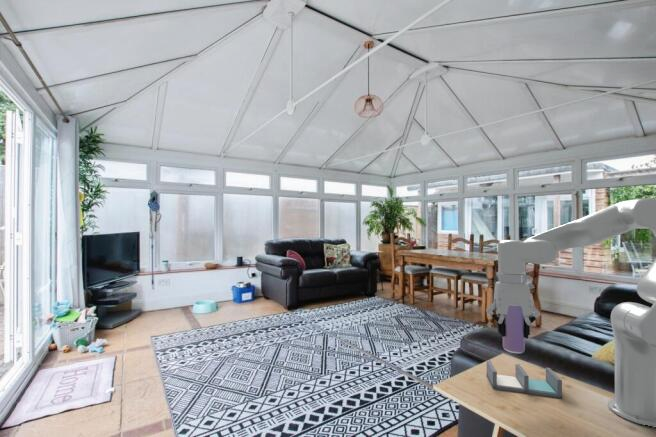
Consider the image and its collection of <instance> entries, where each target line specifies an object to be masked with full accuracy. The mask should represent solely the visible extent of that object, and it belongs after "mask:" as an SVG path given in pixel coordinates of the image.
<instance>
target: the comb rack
mask: <svg viewBox="0 0 656 437" xmlns="http://www.w3.org/2000/svg"><path fill="white" fill-rule="evenodd" d="M486 378H487V379H488V382H489V384H490V386H491V388H492V389H493V390H494V389H495V390H501V391H508V392H509V391H510V392H516V393H522V394H523V393H524V394H530V395H536V396H543V397H551V398H557V399H563V380H562V379H561V378H560V377H559V376H558V374H556V372H554V371H553V370H552V368H550V367H545V380H544V379H543V380H540V379H534V378H529V374H527V372H526V371H525V369H524V368H523V367H522V366H521V365H520V363H515V376H512V375H504V374H498V372H497V370H496V368H495V367H494V364H493V363H492V362H491V360H488V359H487V360H486Z"/></svg>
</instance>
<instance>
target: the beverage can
mask: <svg viewBox="0 0 656 437" xmlns="http://www.w3.org/2000/svg"><path fill="white" fill-rule="evenodd" d="M503 324H504V333H505V336H504V337H502V347H503V350H504V351H506V352H508V353H512V354H523V353H525V350H526V346H525V345H526V344H525V339H526V338H525V337H524V316H523V313H522V308H521V306H520V304H519V305H516V304H510V306H509V307H508V312H507V315H505V317H504V320H503Z"/></svg>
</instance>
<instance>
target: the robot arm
mask: <svg viewBox="0 0 656 437" xmlns="http://www.w3.org/2000/svg"><path fill="white" fill-rule="evenodd" d="M636 229H637V230H638V229H639V230H641V229H642V230H643V229H644V230H646V229H648V230H651V232H652V234H653V235H654V238H656V198H653V197H642V198H640V197H639V198H634V199H628V200H623V201H619V202H617V203H614V204H612V205H610V206H609V205H608V206H607V207H605V208H602V209H600V210H598V211H595V212H593V213H591V214H588V215H586V216H583V217H581V218H579V219H575V220H573V221H570V222H567V223H564V224H563V225H562V224H561V225H559V226H557V227H553V228H551V229H548V230H546V231H543V232H540V233H538V234H536V235H534V236H531V237H529V238H526V239H525V240H523V241H522V240H516V239H514V240H513V239H502V240H500V241H498V243H497V266H498V267H497V269H498V281H496V282H495V284H494V291H493V302H492V303H491V304H490V305H489V306H488V307H487V308H486V309H485V311H486V313H488V314H489V316H491V317H492V318H493V319H494V320H495V321H496V323H497V324H496V325H497V327H496V328H497V333H498V334H499V335H500V336H501V337H502V338H503V337H504V336H505V333H504V324H503V320H504V317H505V315H507V312H508V307H509V306H510V304H516V305H519V304H520V306H521V308H522V313H523V316H524V337H525V339H527V340H528V339H529V336H530V335H531V332H530V331H531V330H530V327H531V325H532V324H533V323H534V322H535V321H536V320H537V319H538V318H539V317H541V315H542V313H541V312H540V311H539V310H538V309H537V308H536V307H535V306H534V305H533V302H532V301H533V300H532V295H531V288H530V286H529V284H528V283H527V282H528V281H531V280H532V277H531V275H528V274H527V272H526V263H527V264H535V265H548V264H549V265H550V264H551V263H553V262H554V261H556V260H557V258H558V256H559V252H562V251H564V250H569V249H574V248H583V247H584V248H586V247H589V246H595V245H598V244H600V243H603V242H605V241H608V240H610V239H613V238H616V237H618V236H619V235H620V236H621V235H622V234H623V235H624V234H626V233H628V232H631V231H634V230H636ZM636 293H637V294H638V296H639V297H640V298H641V299H642V300H644V301H646V302H647V303H649V304H652V305H651V307H650V306H647V305H645V304H641V303H638V302H632V301H627V302H621V303H619V304H617V305H616V306H615V305H614V307H613V309H612V310H611V313H610V325H611V329H612V335H613V342H614V343H613V344H614V398H611V399H609V400H608V401H607V406H608V408H609V409H610V410H611V411H612V413H614V414H616V415H617V416H618V417H621V418H623V419H625V420H628V421H630V422H632V423H635V424H638V425H641V424H642V426H645V425H648V426H647V427H649V426H654V427H653V428H655V426H656V257H655V258H654V261H653V262H652V263H651V264H650V266H649V268H647V270H646V271H645V273H644V274H643V276H641V278H640V280H639V281H638V283H637V285H636ZM493 311H495V312H496V313H497V314H496V313H494V312H493Z"/></svg>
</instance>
